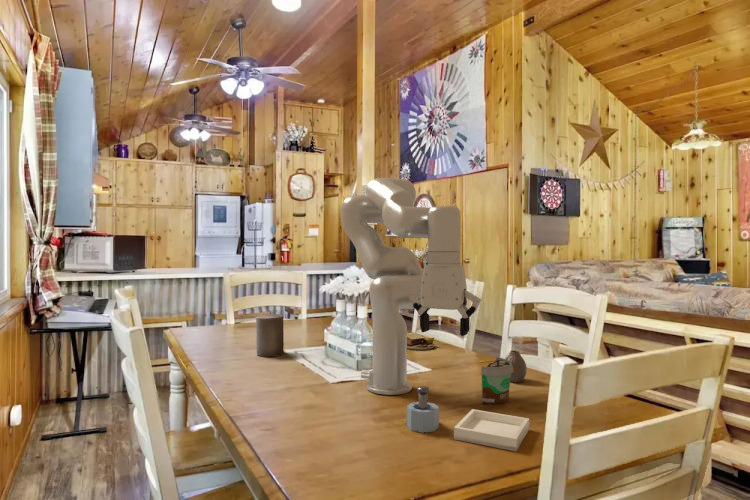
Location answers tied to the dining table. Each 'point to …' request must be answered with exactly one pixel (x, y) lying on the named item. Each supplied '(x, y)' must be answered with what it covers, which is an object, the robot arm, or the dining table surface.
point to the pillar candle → (269, 335)
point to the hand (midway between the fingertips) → (444, 333)
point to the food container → (496, 382)
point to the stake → (422, 397)
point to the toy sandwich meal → (419, 342)
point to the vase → (517, 366)
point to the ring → (422, 417)
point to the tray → (492, 429)
